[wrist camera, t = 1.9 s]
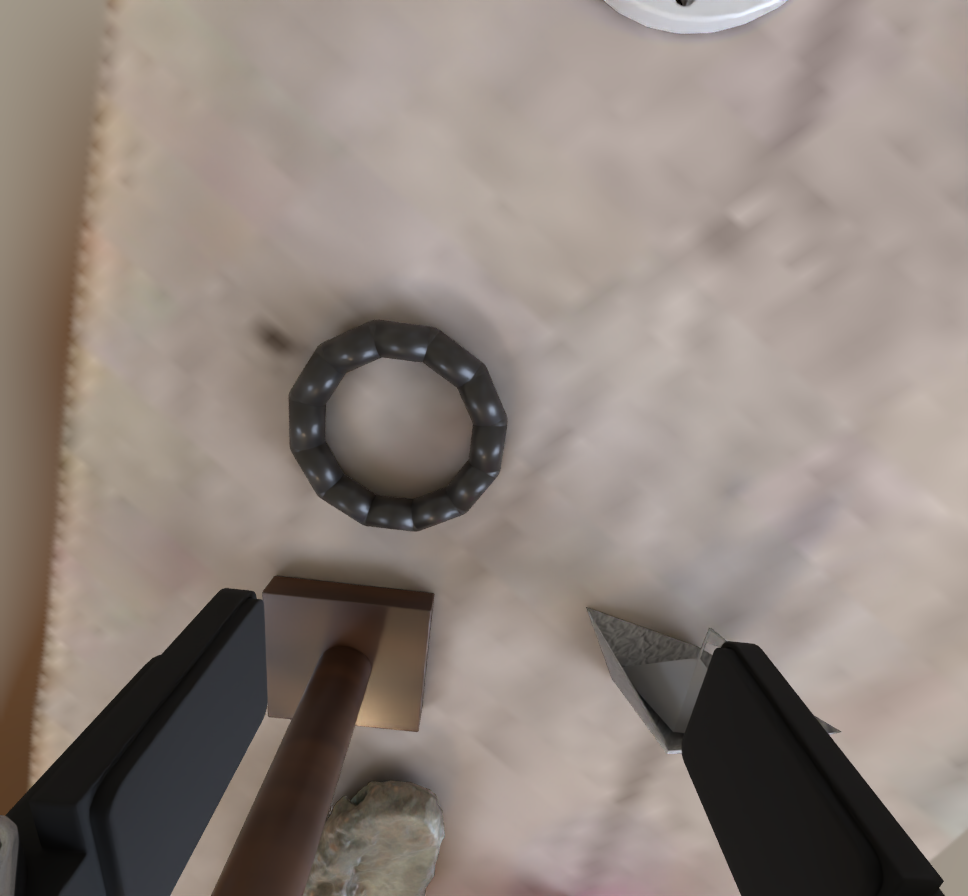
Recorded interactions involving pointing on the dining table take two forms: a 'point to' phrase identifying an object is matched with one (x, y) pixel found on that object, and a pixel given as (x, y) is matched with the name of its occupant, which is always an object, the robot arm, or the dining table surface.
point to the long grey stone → (379, 843)
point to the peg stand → (324, 713)
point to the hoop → (411, 346)
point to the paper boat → (657, 675)
